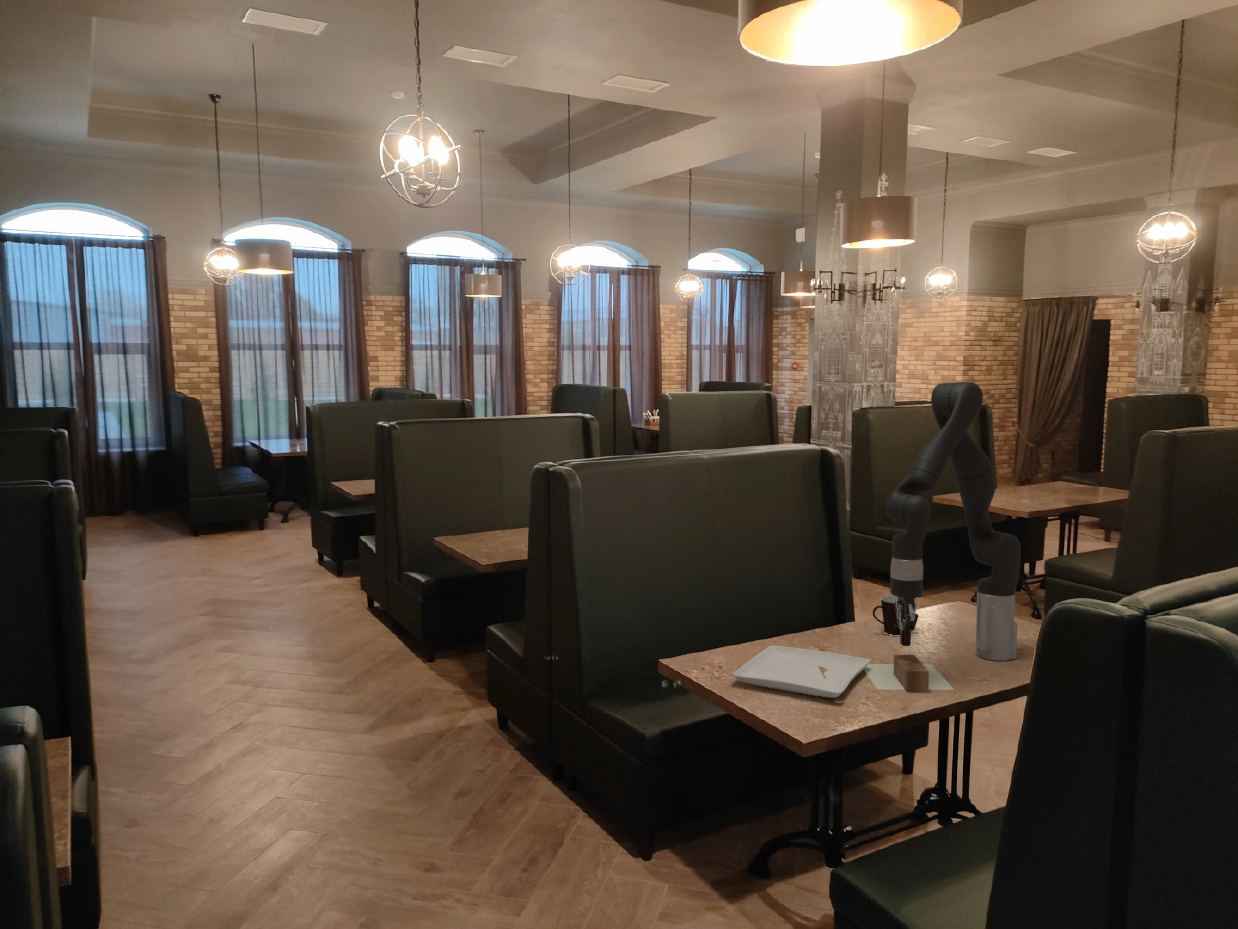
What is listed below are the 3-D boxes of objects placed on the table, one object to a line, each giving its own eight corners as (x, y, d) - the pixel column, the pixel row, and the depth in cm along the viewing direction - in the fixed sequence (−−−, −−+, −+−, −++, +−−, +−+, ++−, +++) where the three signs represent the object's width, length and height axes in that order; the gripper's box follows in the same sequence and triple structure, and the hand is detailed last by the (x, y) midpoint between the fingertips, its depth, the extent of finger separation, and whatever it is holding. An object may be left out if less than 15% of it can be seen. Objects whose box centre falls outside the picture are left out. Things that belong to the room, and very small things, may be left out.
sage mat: (931, 666, 222) (931, 664, 222) (954, 692, 204) (954, 689, 204) (860, 666, 223) (860, 664, 223) (876, 691, 205) (876, 689, 205)
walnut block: (914, 654, 214) (928, 671, 202) (913, 674, 215) (928, 692, 203) (893, 654, 215) (907, 671, 203) (893, 674, 215) (906, 692, 203)
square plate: (872, 672, 220) (872, 657, 219) (840, 708, 196) (841, 691, 196) (770, 656, 234) (770, 642, 233) (730, 688, 210) (730, 672, 210)
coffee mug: (907, 629, 255) (908, 596, 254) (914, 638, 246) (915, 603, 245) (867, 628, 256) (867, 595, 255) (872, 637, 247) (873, 603, 246)
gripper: (930, 582, 204) (928, 653, 206) (914, 569, 217) (913, 637, 219) (898, 582, 205) (896, 653, 206) (884, 569, 218) (883, 637, 219)
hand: (905, 645), depth 213 cm, fingers closed
